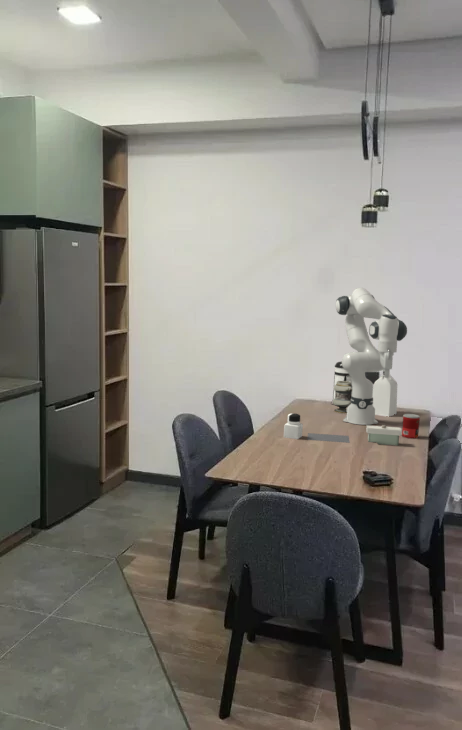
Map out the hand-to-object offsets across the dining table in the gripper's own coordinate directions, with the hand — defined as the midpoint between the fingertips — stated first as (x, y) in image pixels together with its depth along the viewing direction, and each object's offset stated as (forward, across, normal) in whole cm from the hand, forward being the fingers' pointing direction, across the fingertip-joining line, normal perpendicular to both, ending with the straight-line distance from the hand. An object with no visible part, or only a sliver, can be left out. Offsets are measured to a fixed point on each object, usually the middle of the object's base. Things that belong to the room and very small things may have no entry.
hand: (385, 376), depth 311 cm
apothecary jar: (+31, +63, +17) cm, 72 cm away
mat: (+31, -10, +26) cm, 42 cm away
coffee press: (+31, +84, +15) cm, 91 cm away
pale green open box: (+31, -10, 0) cm, 33 cm away
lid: (+26, -10, 0) cm, 28 cm away
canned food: (+31, +8, -15) cm, 36 cm away
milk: (+31, +64, -7) cm, 72 cm away
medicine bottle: (+31, -13, +43) cm, 55 cm away
